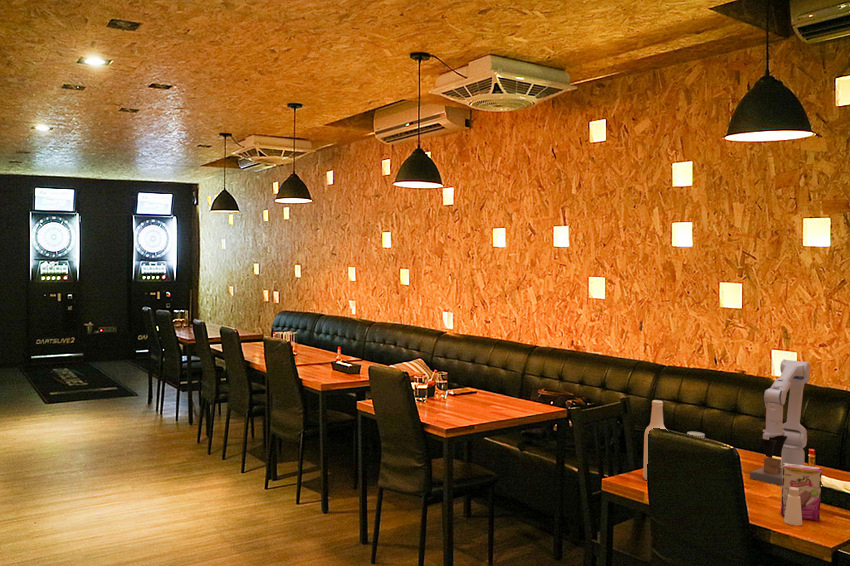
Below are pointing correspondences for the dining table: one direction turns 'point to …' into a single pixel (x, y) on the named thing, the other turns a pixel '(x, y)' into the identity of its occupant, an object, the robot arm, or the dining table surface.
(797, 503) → the salt shaker
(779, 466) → the block
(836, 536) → the dining table surface
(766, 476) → the tray
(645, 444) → the alcohol
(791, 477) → the candy bar box
